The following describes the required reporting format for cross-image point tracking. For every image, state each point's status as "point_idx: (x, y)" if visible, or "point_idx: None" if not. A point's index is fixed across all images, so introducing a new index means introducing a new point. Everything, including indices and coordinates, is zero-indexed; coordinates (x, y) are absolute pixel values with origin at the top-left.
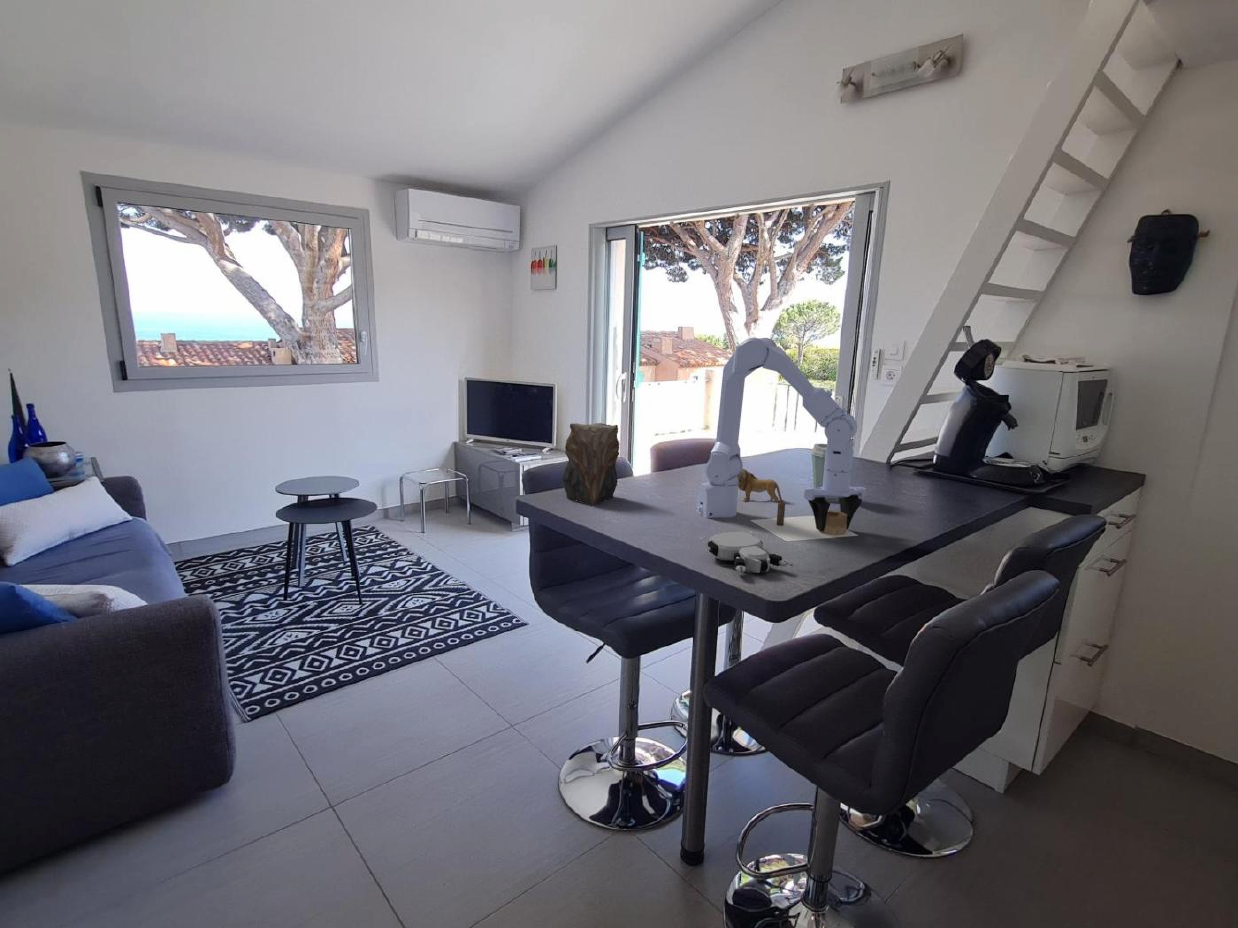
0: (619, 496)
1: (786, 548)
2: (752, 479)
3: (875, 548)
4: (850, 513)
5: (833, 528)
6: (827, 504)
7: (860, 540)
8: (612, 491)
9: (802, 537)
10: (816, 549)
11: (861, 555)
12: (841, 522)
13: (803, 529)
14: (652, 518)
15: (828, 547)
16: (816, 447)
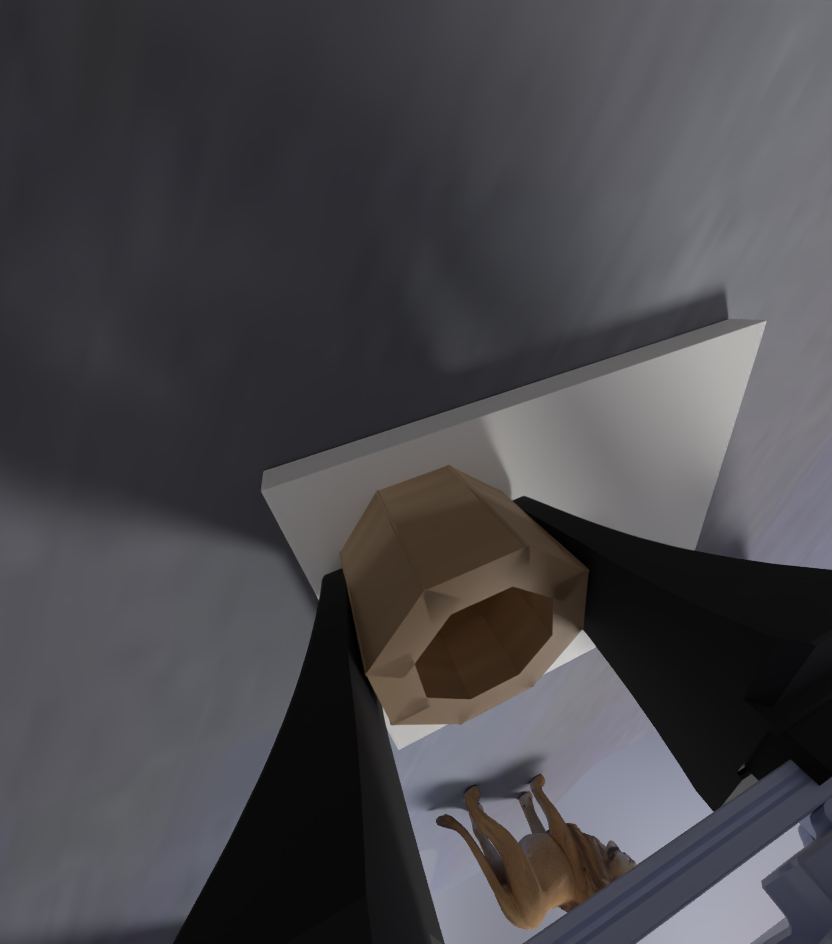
0: None
1: (745, 288)
2: (576, 891)
3: (136, 254)
4: (345, 686)
5: (483, 492)
6: (826, 613)
7: (240, 477)
8: None
9: (653, 398)
10: (626, 258)
11: (367, 5)
12: (447, 535)
13: None
14: None
15: (536, 301)
16: None
